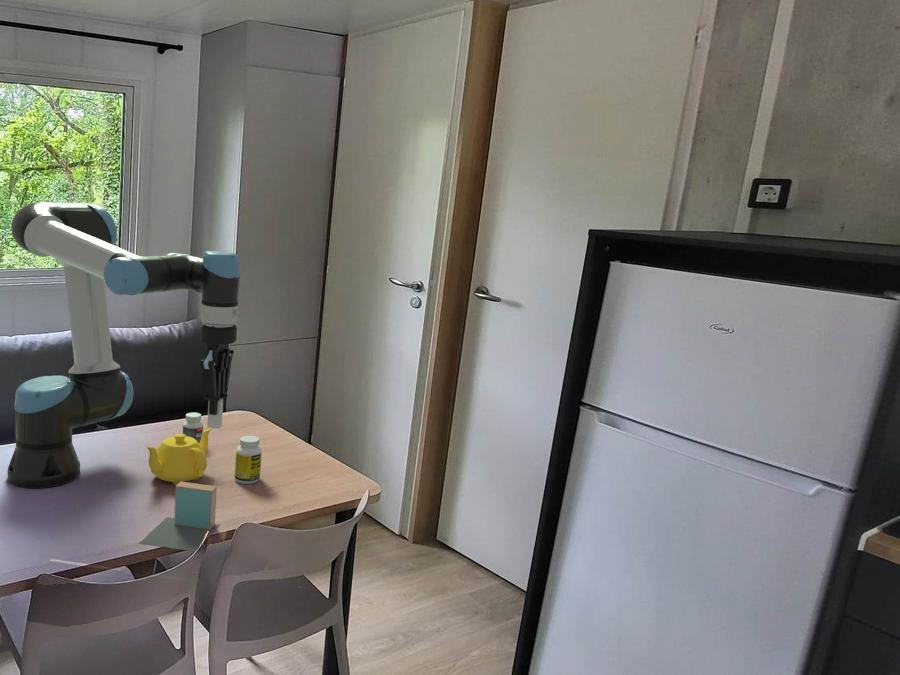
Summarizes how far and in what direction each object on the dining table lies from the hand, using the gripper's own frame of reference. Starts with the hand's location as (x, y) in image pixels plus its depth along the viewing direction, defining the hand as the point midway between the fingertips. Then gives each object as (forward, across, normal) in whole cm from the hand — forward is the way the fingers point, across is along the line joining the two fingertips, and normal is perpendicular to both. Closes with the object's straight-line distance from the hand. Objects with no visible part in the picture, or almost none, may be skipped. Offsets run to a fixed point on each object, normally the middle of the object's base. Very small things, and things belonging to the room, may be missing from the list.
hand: (214, 426), depth 159 cm
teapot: (+20, +13, +13) cm, 27 cm away
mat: (+20, -13, +1) cm, 24 cm away
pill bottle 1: (+20, +35, +20) cm, 45 cm away
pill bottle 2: (+20, +18, -2) cm, 27 cm away
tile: (+20, -8, 0) cm, 21 cm away
